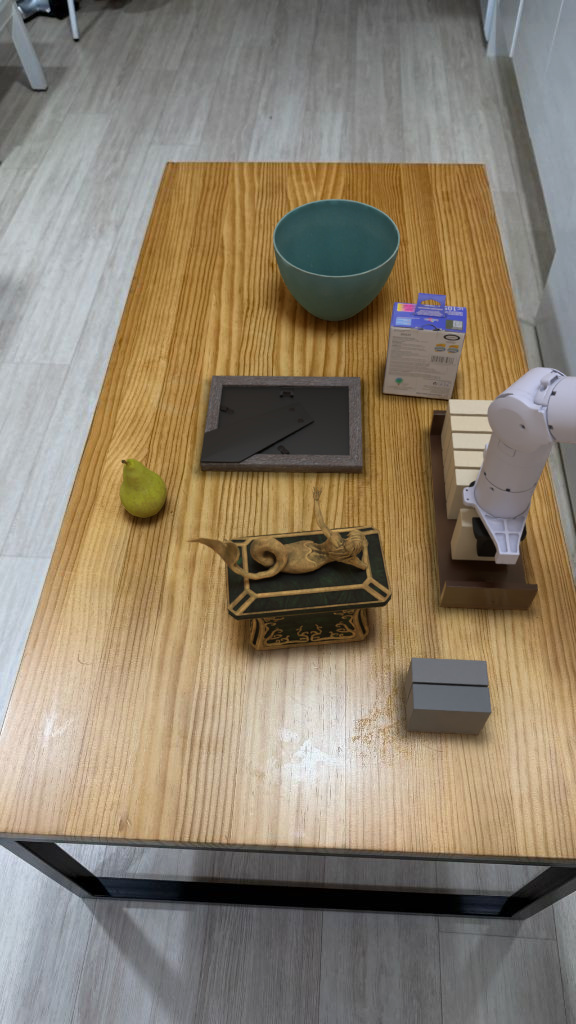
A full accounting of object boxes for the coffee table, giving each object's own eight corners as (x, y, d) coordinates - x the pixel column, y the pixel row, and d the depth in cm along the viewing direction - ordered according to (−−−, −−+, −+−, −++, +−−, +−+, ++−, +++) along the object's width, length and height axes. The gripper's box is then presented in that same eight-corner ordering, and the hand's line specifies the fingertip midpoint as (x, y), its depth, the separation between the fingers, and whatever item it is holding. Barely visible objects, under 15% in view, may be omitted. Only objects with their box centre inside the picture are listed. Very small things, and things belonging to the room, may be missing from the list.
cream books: (504, 521, 91) (518, 487, 86) (447, 519, 92) (456, 485, 86) (493, 437, 99) (505, 400, 94) (440, 435, 100) (448, 399, 94)
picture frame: (202, 470, 98) (361, 473, 97) (200, 461, 96) (362, 463, 96) (213, 383, 107) (359, 384, 106) (212, 373, 106) (360, 374, 105)
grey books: (479, 734, 77) (491, 712, 72) (406, 731, 78) (413, 708, 72) (474, 685, 80) (486, 660, 75) (404, 682, 81) (411, 657, 75)
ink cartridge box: (454, 373, 107) (472, 291, 95) (452, 401, 104) (471, 320, 92) (385, 367, 108) (394, 285, 97) (382, 394, 105) (391, 313, 93)
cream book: (512, 561, 87) (526, 528, 81) (451, 559, 87) (461, 526, 81) (510, 544, 88) (524, 510, 82) (450, 542, 88) (460, 508, 83)
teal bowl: (415, 301, 117) (426, 232, 107) (339, 361, 109) (342, 293, 99) (329, 253, 124) (331, 184, 114) (251, 307, 117) (246, 238, 107)
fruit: (165, 485, 97) (149, 423, 87) (174, 520, 94) (159, 460, 84) (121, 496, 96) (100, 435, 86) (129, 532, 93) (108, 473, 83)
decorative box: (371, 570, 89) (385, 467, 73) (385, 644, 83) (403, 550, 67) (203, 585, 88) (180, 485, 72) (206, 661, 83) (181, 570, 66)
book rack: (527, 610, 85) (538, 590, 81) (439, 607, 86) (446, 586, 82) (503, 436, 100) (511, 411, 96) (428, 434, 101) (433, 409, 97)
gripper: (465, 415, 79) (446, 491, 90) (477, 528, 71) (454, 596, 82) (532, 417, 79) (504, 493, 90) (552, 531, 71) (519, 599, 82)
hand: (485, 543), depth 86 cm, fingers closed on cream book, 2 cm apart
